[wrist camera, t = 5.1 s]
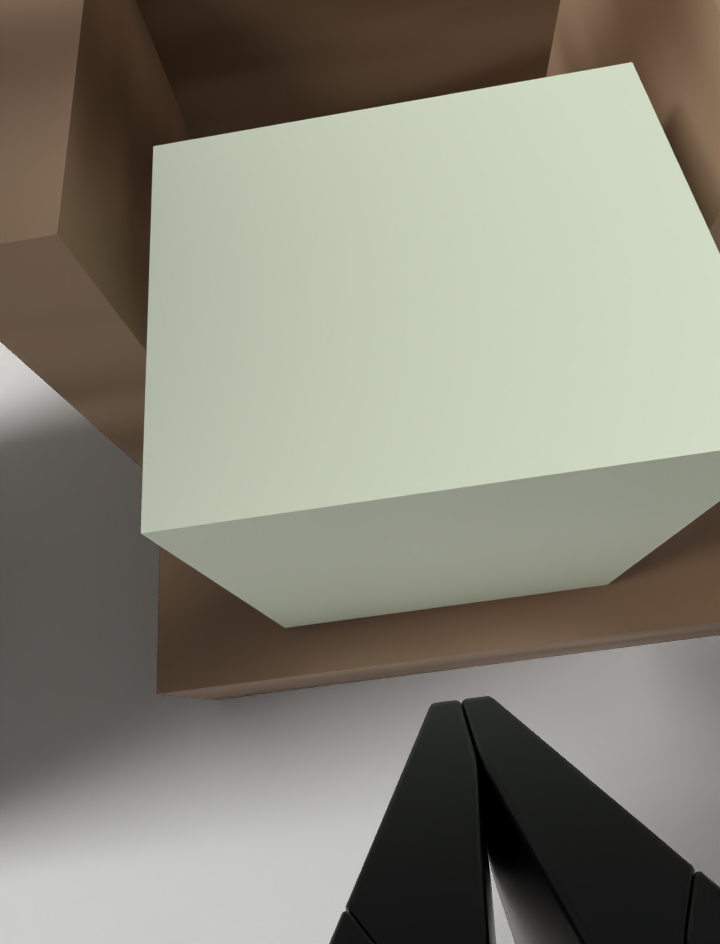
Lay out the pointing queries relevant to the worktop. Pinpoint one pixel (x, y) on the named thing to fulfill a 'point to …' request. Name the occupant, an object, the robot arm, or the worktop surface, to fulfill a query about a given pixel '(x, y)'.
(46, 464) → the worktop surface
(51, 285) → the wooden desk organizer
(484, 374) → the light green block
